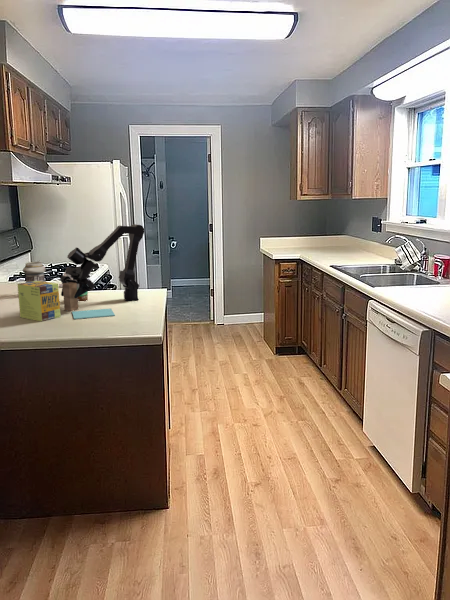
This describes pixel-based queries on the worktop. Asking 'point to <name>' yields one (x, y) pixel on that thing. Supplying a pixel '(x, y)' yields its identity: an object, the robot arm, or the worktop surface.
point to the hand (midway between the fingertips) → (68, 296)
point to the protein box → (39, 300)
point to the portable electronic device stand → (64, 275)
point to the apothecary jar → (34, 271)
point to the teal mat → (93, 313)
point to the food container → (83, 296)
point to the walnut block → (70, 296)
